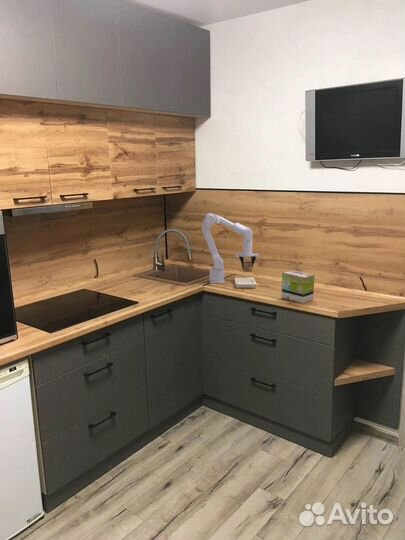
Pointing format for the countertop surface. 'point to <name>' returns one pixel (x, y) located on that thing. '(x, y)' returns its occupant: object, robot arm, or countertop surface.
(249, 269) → the walnut block
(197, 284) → the countertop surface
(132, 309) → the countertop surface
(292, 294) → the tea box
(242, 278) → the white tray
